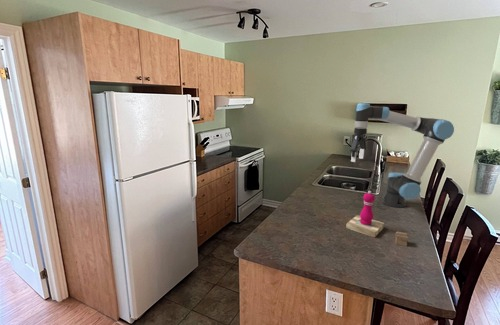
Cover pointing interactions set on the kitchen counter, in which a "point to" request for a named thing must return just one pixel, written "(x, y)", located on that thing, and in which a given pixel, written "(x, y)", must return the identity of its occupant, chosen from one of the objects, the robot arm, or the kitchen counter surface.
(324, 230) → the kitchen counter surface
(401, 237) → the block
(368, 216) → the pepper mill
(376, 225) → the base plate
